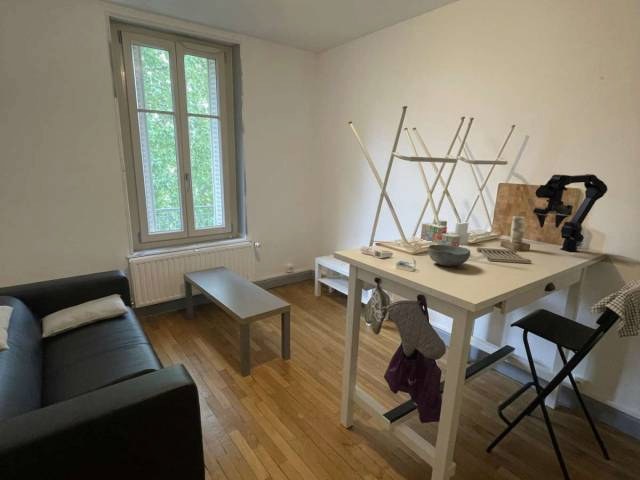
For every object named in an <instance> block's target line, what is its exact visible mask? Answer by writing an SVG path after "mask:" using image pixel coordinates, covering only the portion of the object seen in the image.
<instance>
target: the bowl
mask: <svg viewBox="0 0 640 480" xmlns="http://www.w3.org/2000/svg"><path fill="white" fill-rule="evenodd" d="M427 252H428V255H429V258H430V259H431V260H432V261H433V262H435V263H436V264H438V265H440V266H444V267H455V266H459V265H462V264H464V263H466V262H467V261H468V260H469V258H470V256H471V250H470V249H468V248H466V247H462V246H459V247H457V246H450V245H430V246H429V247H427Z"/></svg>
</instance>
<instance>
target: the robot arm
mask: <svg viewBox="0 0 640 480" xmlns="http://www.w3.org/2000/svg"><path fill="white" fill-rule="evenodd" d="M579 183H584V184H583V186H584V188H585V191H584V193H585V197H584V199H583V201H582V203H581V204H580V206H579V207H578V208H577V210H576V212H575V214H574V215H573V214H572V212H573V209H574V205H571V204H567V205H565V203H564V201H562V200H563V196H564V192H566V191H567V192H568V188H567V187H566V186H569V185H570V184H579ZM607 192H608V186H607V184H606V183H605V182H604V181H603V180H601V179H599V178H598V177H597V175H595V174H593V173H590V174H589V173H588V174H579V175H578V174H577V175H568V174H553V175H552V176H551V177H550V178H549V180H548V181H547V182H545V184H540V185H539V187H537V189H536V190H535V196H536V198H538V199H546V202H547V206H545V207H544V208H542V207H535V208H534V209H533V210H532V211H533V214H534V215H535V216H536V217H537V220H538V223H539V225H540V228H543V227H544V226H545V222H546V218H548V217H549V215H548V214H555V218H554V219H555V221H554V223H555V224H554V226H555V227H554V228H557V229H559V227H560V225H561V224H562V223H563V221H564V219H566V218H569V217H570V216H572V215H573V216H572V218H571V220H569V221H565V222H564V223H563V225H562V226H561V229H560V233H561V238H562V239H564V241H563V243H562V247H560V248H559V249H560V250H563V251H565V252H570V253H571V252H572V253H573V252H574V253H575V252H576V253H579V252H580V250H578V247H579V243H580V242H583V240H584V238H585V237H584V236H583V234H582V231H583V226H582V224H583V222H584V221H585V220H586V217H587V216H588V214H589V213H590V212H591V209H592V208H593V206H594V204H595V203H596V202H597V201H598V200H600V199H601V198H603V196H605V194H606V193H607Z"/></svg>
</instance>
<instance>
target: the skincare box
mask: <svg viewBox="0 0 640 480" xmlns="http://www.w3.org/2000/svg"><path fill="white" fill-rule="evenodd" d="M435 220H436V219H434V222H433V224H436V225H437V222H436V221H435ZM438 220H439V223H440V225H441V226H445V227H447V225H448V221H447V220H443V219H438Z"/></svg>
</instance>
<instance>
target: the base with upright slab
mask: <svg viewBox="0 0 640 480" xmlns="http://www.w3.org/2000/svg"><path fill="white" fill-rule="evenodd" d="M468 227H469V222H467V221H461V223H459V222H455V228H454V231H452V233H451V234H455V235H458V236H460V242H459V246H467V245H468V244H469V238H470V233H469V232H468V230H469V229H468Z"/></svg>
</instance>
